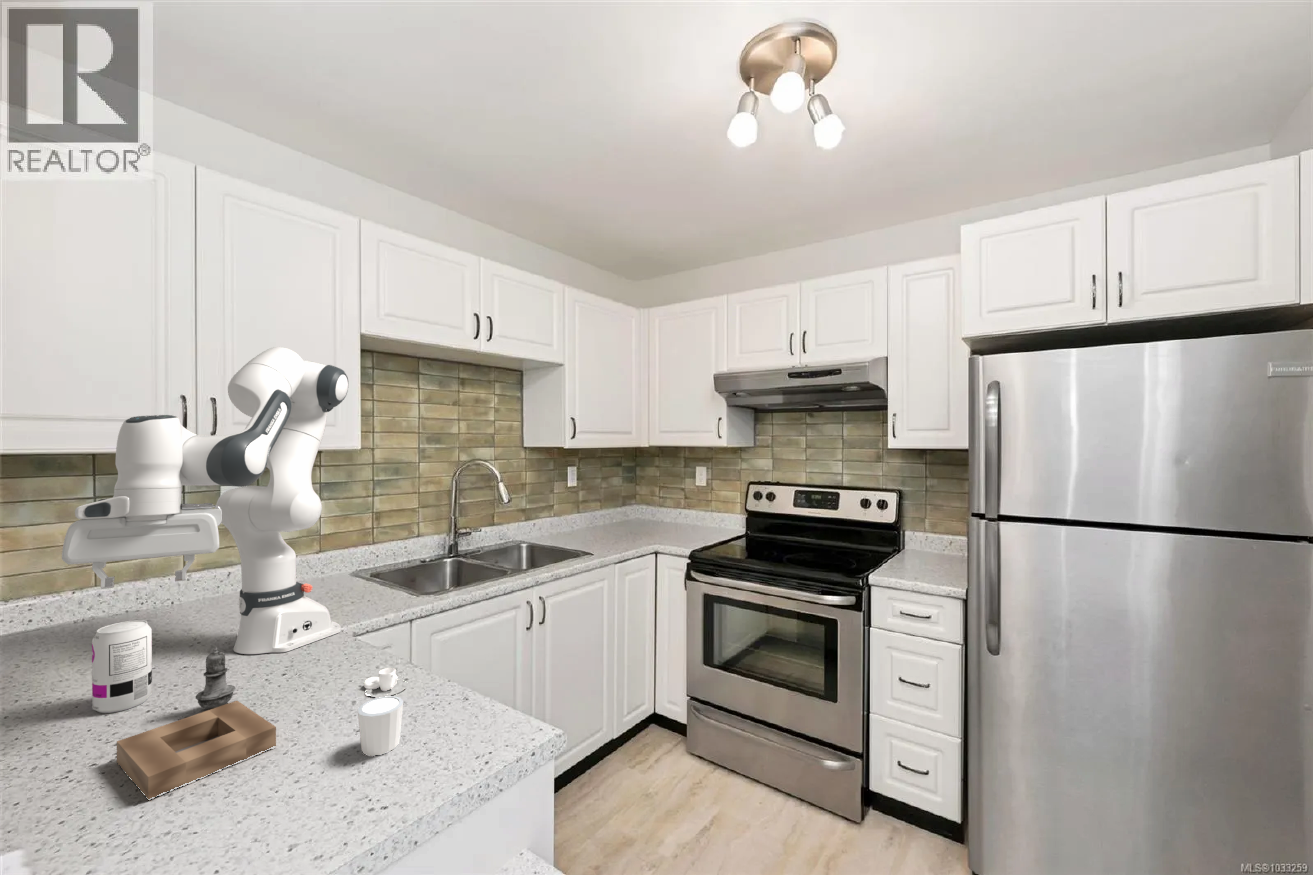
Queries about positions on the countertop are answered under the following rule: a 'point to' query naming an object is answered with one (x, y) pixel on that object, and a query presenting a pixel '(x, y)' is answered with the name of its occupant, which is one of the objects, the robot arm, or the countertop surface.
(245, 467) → the robot arm
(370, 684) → the teacup and saucer
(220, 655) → the grey tall rounded piece
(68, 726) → the countertop surface
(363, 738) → the white cylinder
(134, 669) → the supplement can
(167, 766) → the holder
